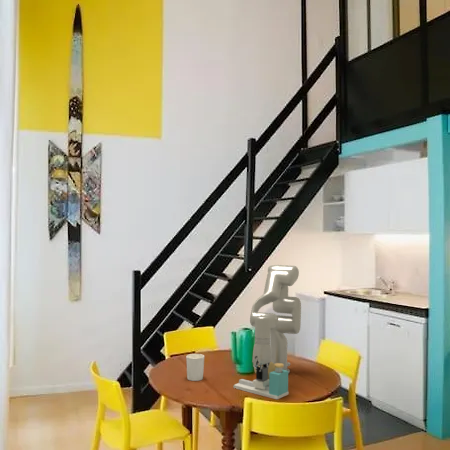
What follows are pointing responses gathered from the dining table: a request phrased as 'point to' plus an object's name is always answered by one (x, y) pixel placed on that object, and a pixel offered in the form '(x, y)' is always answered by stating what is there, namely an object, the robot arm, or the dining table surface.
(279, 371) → the gauge plunger
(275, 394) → the rail board
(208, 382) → the dining table surface
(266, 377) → the carriage
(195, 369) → the candle holder
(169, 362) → the dining table surface
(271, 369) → the toy pig
